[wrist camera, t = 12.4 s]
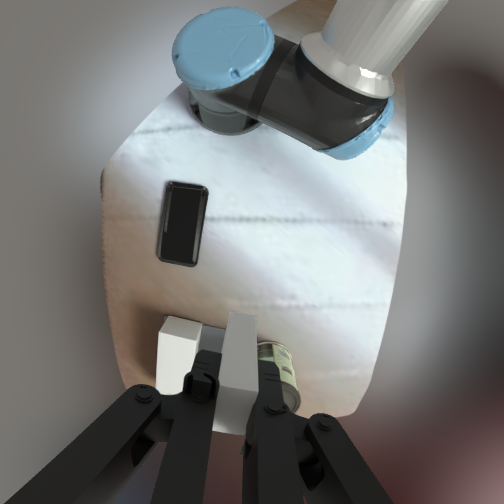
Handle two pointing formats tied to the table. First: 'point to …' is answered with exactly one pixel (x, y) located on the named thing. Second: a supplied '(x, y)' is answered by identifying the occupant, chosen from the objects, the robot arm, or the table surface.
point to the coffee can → (282, 371)
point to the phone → (182, 223)
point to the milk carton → (176, 353)
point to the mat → (210, 338)
